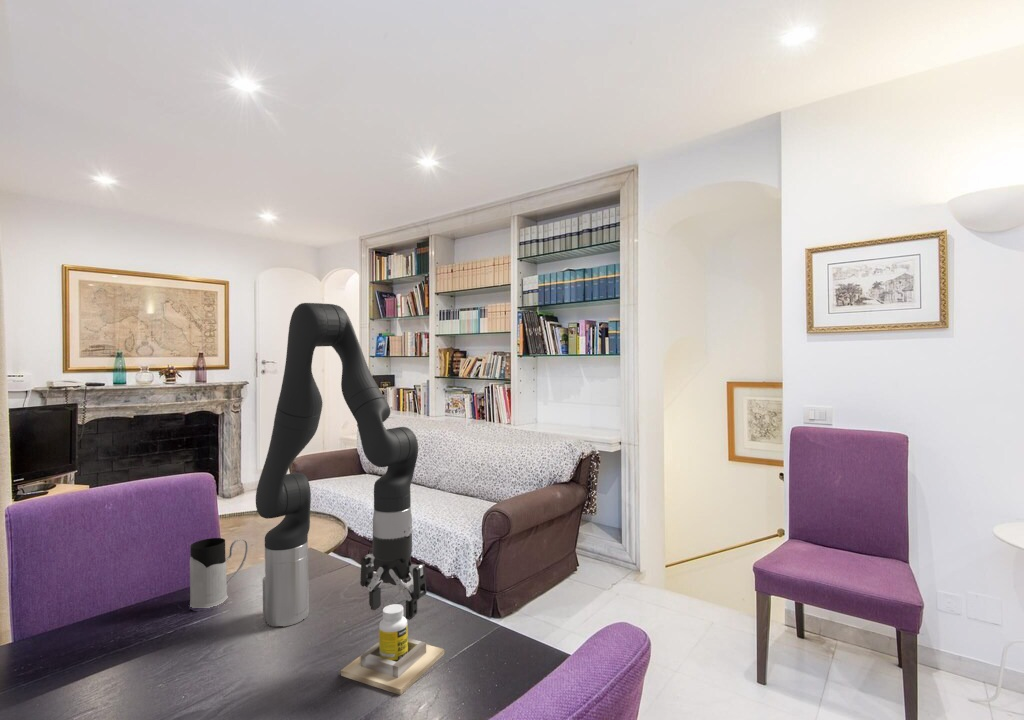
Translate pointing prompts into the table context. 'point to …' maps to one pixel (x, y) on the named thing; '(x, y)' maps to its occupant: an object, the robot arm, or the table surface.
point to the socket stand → (393, 667)
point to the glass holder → (210, 572)
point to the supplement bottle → (393, 633)
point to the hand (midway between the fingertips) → (393, 613)
